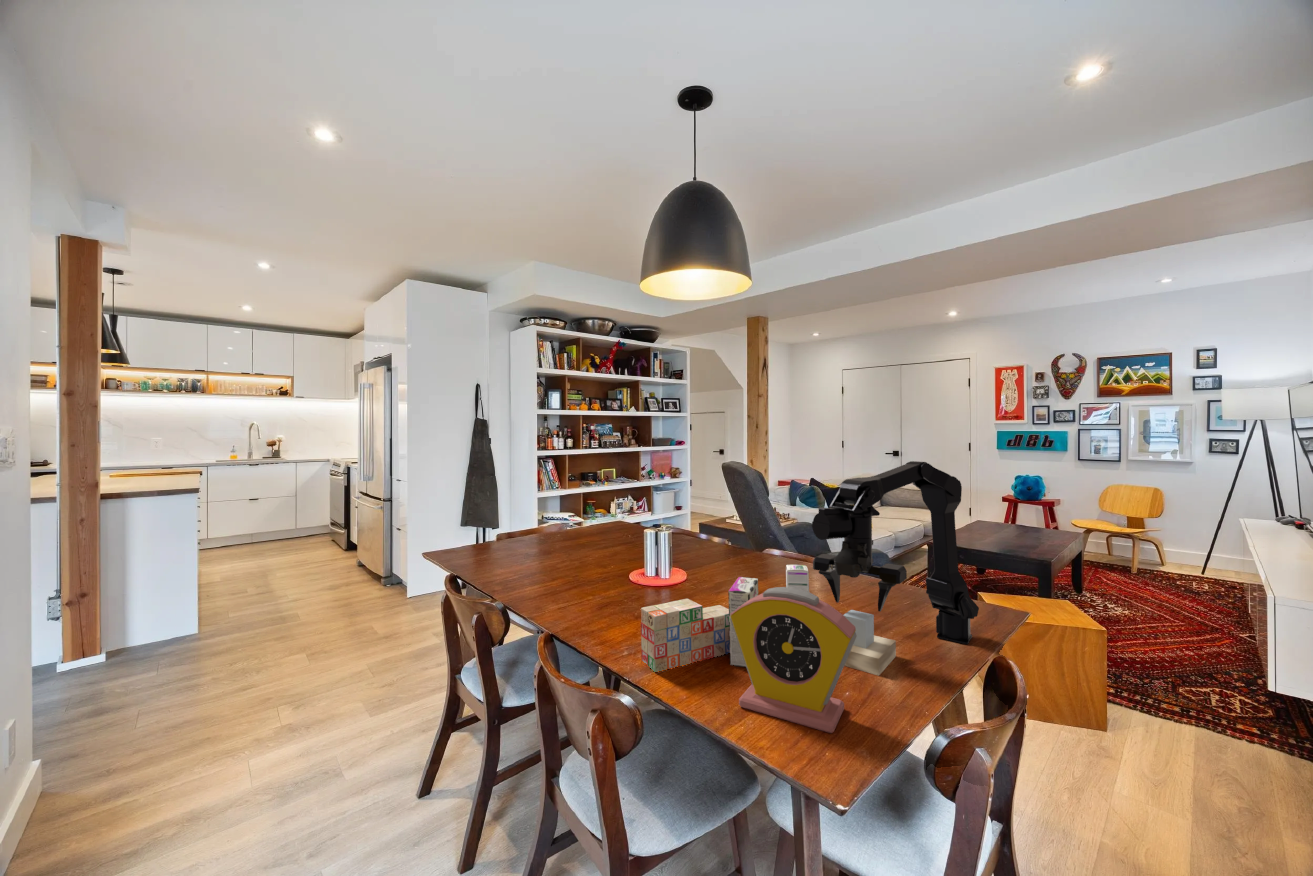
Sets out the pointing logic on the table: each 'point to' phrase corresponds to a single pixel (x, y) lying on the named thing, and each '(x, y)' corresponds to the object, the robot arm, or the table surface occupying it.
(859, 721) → the table surface
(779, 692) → the yellow mantel clock
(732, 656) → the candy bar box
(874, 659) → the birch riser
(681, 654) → the stack of blocks
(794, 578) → the syrup box
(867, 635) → the slate block
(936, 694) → the table surface
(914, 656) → the table surface
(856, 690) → the table surface
